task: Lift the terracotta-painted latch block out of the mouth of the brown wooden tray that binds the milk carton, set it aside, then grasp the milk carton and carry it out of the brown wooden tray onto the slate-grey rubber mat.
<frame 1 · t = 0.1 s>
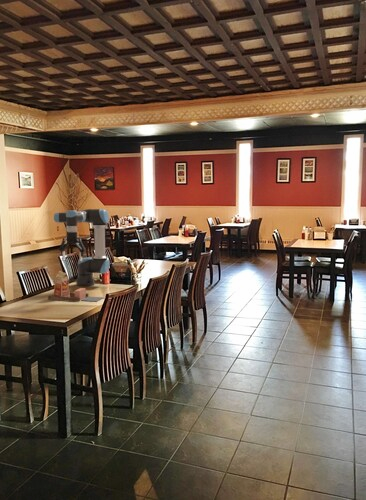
hand: (72, 260, 309), 28 cm above the table, fingers open, 13 cm apart
brown wooden tray: (68, 298, 312), on the table
latch block: (80, 298, 310), on the table
milk carton: (62, 298, 313), resting in brown wooden tray
mat: (92, 299, 308), on the table
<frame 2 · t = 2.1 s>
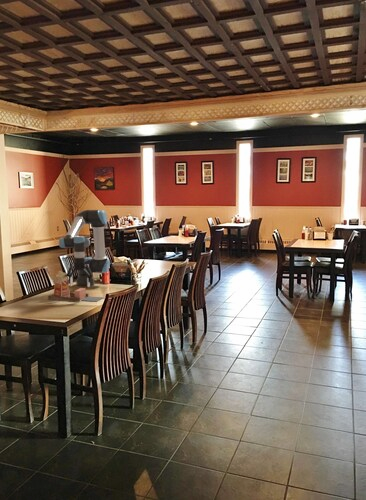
hand: (79, 286, 309), 9 cm above the table, fingers open, 13 cm apart
nothing on the table moved.
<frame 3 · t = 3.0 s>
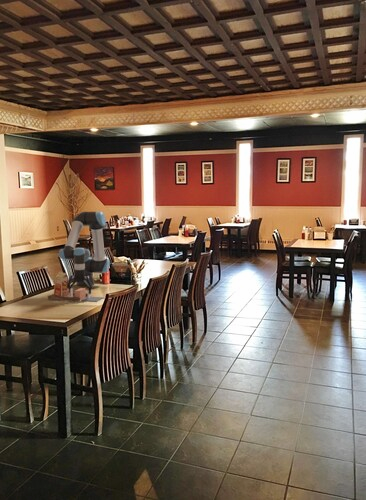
hand: (80, 297, 310), 1 cm above the table, fingers open, 13 cm apart
nothing on the table moved.
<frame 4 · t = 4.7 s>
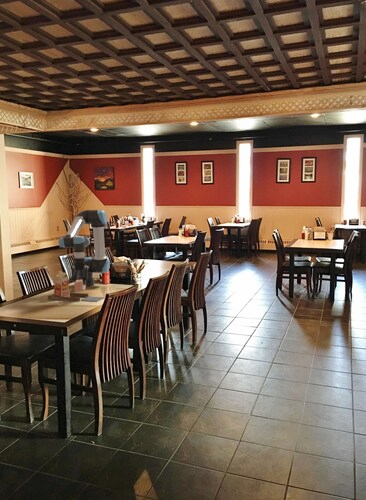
hand: (80, 288, 310), 7 cm above the table, fingers closed on latch block, 4 cm apart
latch block: (80, 290, 310), point 6 cm above the table, touching gripper
everything else where it was.
when the fingers open (0 cm above the table, at t = 8.0 s): latch block stays where it is, on the table.
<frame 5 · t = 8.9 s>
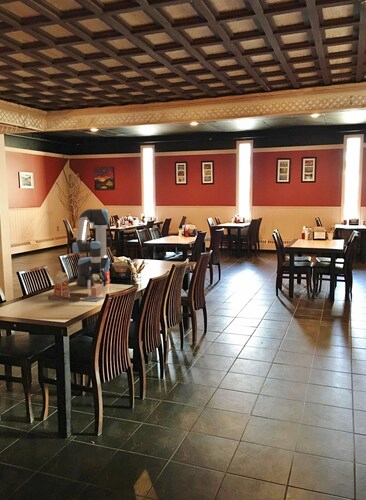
hand: (96, 289, 322), 4 cm above the table, fingers open, 13 cm apart
latch block: (96, 295, 322), on the table
everything else where it was.
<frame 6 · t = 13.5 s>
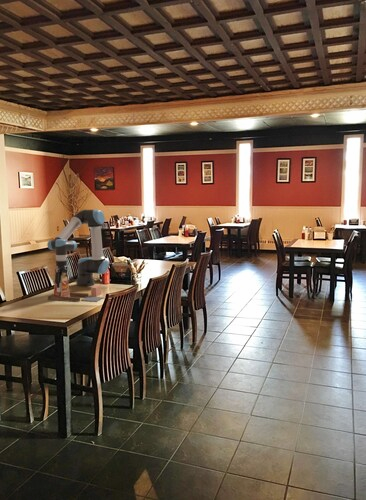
hand: (62, 290, 313), 5 cm above the table, fingers closed on milk carton, 8 cm apart
milk carton: (62, 298, 313), resting in brown wooden tray, touching gripper
everything else where it was.
when the fingers open (7 cm above the table, at t = 19.6 s): milk carton drops 1 cm, resting on mat.
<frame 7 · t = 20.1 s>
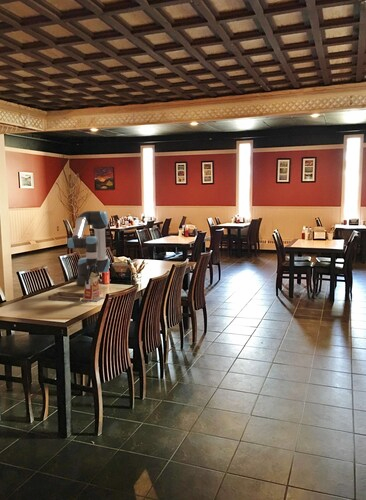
hand: (92, 286, 307), 9 cm above the table, fingers open, 13 cm apart
milk carton: (92, 298, 308), resting on mat
everything else where it was.
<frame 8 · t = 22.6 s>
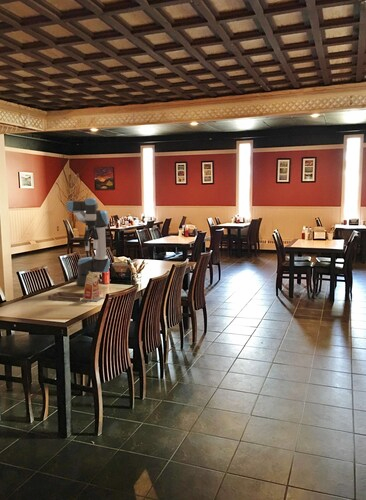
hand: (91, 249, 304), 37 cm above the table, fingers open, 13 cm apart
nothing on the table moved.
at the end: milk carton inside the target area on the mat (0.1 cm from its centre), point 0.4 cm above the mat's base; milk carton tilted 0°; latch block moved 15.3 cm from its start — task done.
